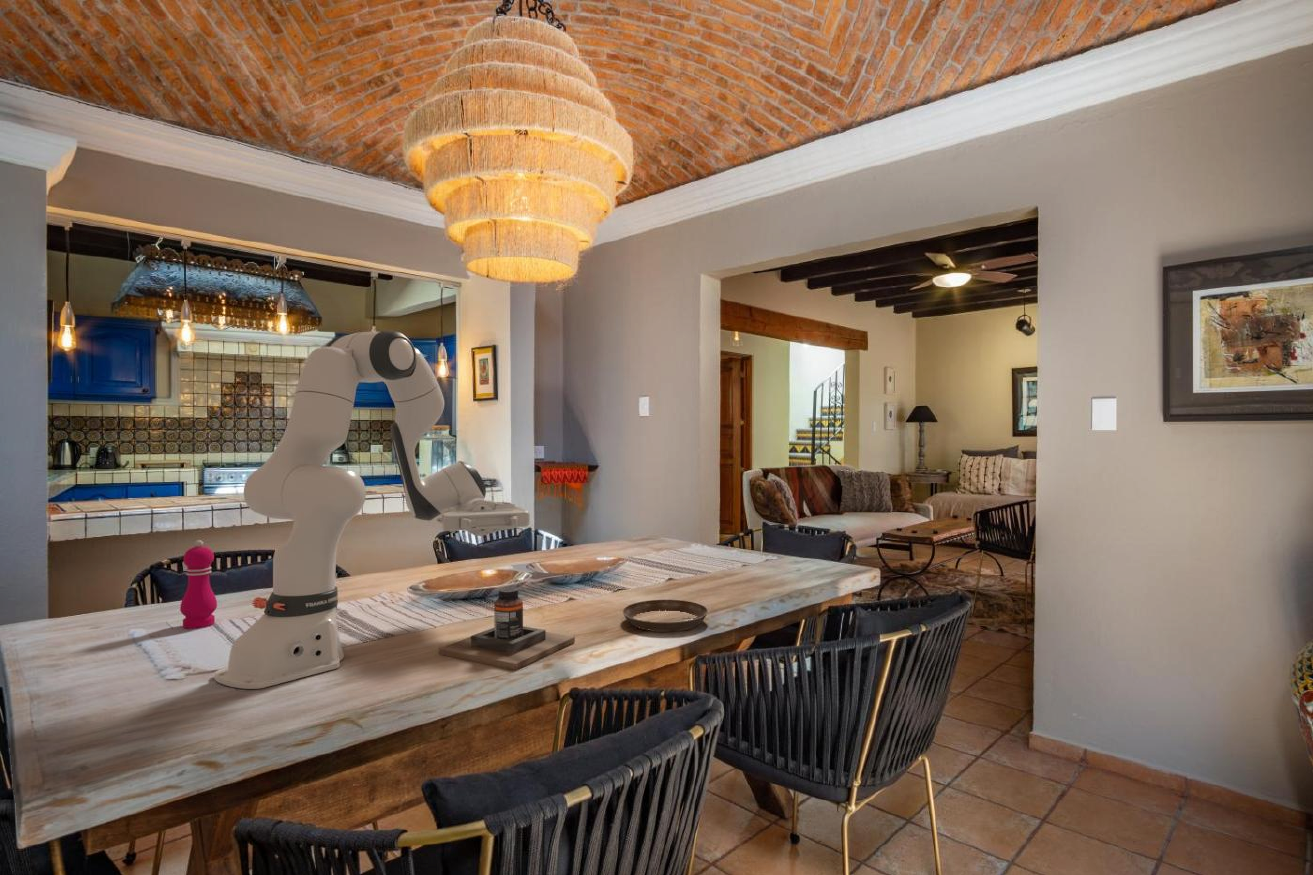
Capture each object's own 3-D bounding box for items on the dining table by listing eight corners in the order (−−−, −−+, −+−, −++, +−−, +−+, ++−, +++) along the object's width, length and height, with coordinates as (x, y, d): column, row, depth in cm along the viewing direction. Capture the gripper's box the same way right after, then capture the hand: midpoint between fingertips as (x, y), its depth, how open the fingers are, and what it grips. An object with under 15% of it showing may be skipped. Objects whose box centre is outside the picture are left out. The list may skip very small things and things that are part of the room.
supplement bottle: (508, 636, 151) (508, 584, 151) (528, 640, 148) (529, 588, 148) (488, 643, 146) (488, 590, 146) (509, 648, 143) (509, 593, 143)
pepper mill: (224, 621, 166) (224, 538, 166) (201, 630, 159) (201, 542, 159) (196, 620, 167) (196, 537, 167) (172, 628, 160) (172, 542, 160)
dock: (516, 670, 134) (516, 653, 134) (438, 654, 143) (438, 638, 143) (574, 642, 151) (574, 627, 151) (502, 629, 161) (502, 616, 161)
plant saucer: (655, 640, 154) (655, 625, 154) (606, 620, 170) (606, 606, 170) (725, 626, 166) (725, 612, 166) (673, 608, 183) (673, 595, 183)
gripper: (435, 505, 165) (446, 511, 153) (519, 502, 175) (536, 507, 162) (435, 532, 165) (446, 540, 153) (519, 527, 175) (536, 534, 162)
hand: (493, 523), depth 158 cm, fingers open, 8 cm apart
